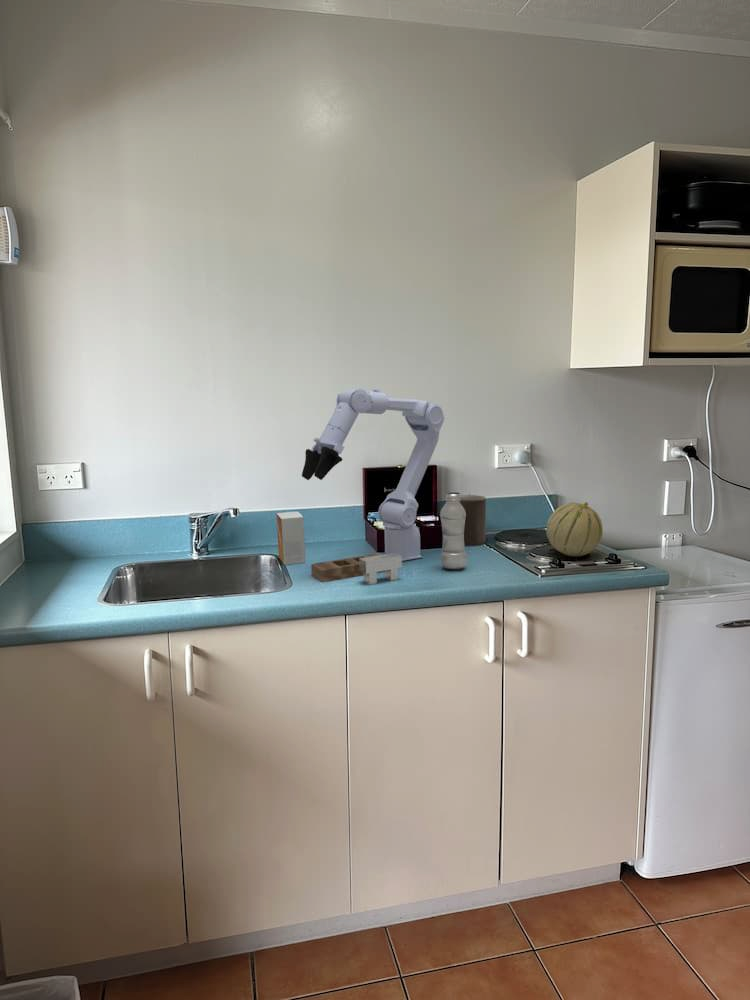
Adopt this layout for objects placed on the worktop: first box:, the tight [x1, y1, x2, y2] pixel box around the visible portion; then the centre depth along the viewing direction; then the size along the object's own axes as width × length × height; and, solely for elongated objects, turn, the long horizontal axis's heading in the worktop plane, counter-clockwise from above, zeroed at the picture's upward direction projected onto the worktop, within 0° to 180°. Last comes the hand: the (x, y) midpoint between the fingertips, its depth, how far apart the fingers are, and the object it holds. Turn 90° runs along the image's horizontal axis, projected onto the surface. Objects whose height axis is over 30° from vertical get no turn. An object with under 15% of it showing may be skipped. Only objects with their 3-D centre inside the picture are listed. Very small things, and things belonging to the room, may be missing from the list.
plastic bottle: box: [439, 491, 467, 570], centre depth 182 cm, size 6×7×20 cm
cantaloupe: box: [545, 502, 603, 557], centre depth 192 cm, size 15×15×15 cm
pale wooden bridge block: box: [359, 553, 403, 585], centre depth 174 cm, size 10×4×6 cm, turn 118°
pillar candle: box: [460, 492, 487, 547], centre depth 210 cm, size 10×10×15 cm
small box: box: [276, 511, 307, 566], centre depth 194 cm, size 8×6×13 cm
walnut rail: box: [310, 552, 385, 583], centre depth 182 cm, size 20×7×3 cm, turn 118°
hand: (311, 477), depth 173 cm, fingers open, 7 cm apart
